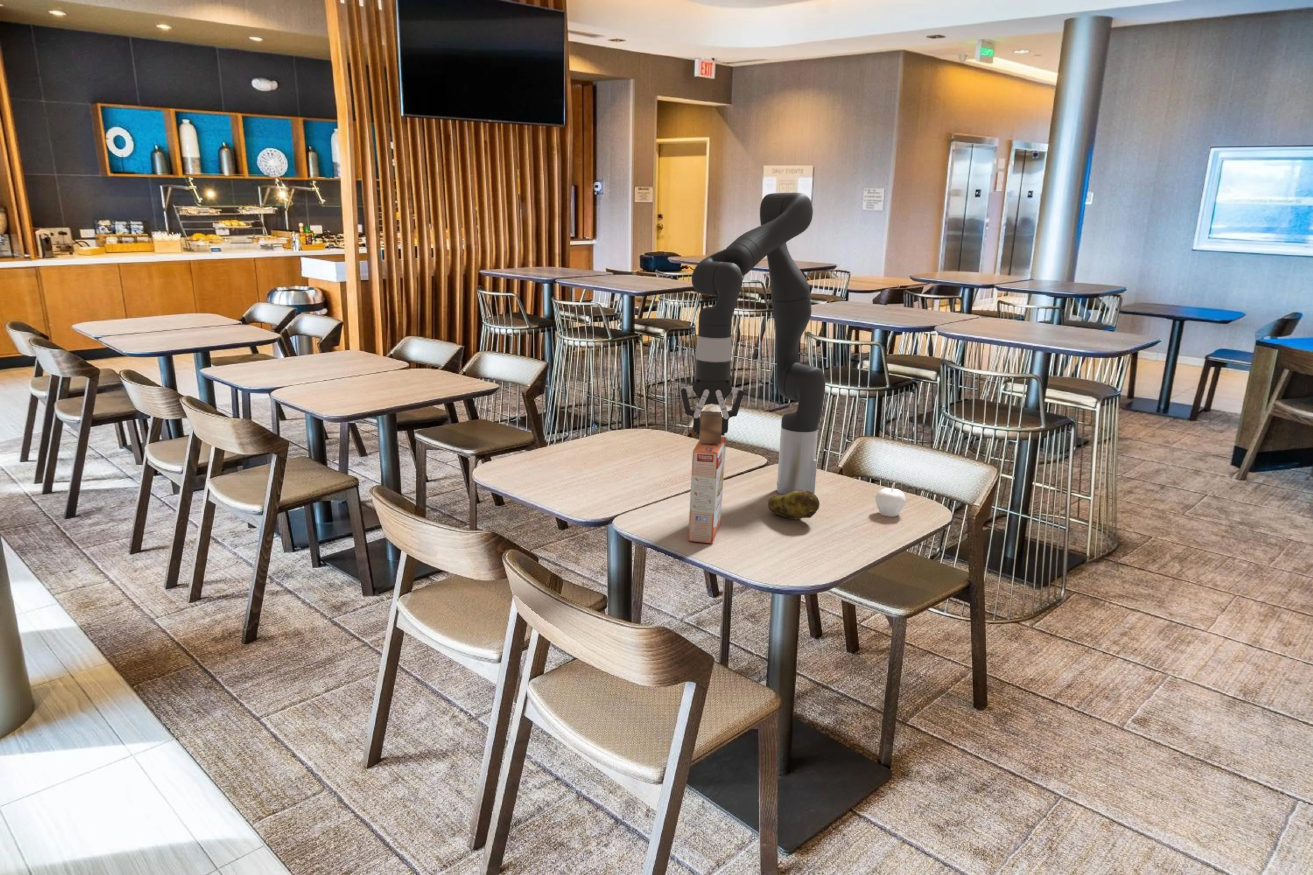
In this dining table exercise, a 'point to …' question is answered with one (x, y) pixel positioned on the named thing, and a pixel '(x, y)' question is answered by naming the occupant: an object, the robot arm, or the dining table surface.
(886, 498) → the plain white apple
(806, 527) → the dining table surface
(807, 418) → the robot arm
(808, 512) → the potato
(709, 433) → the walnut block
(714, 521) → the cracker box
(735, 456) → the dining table surface
